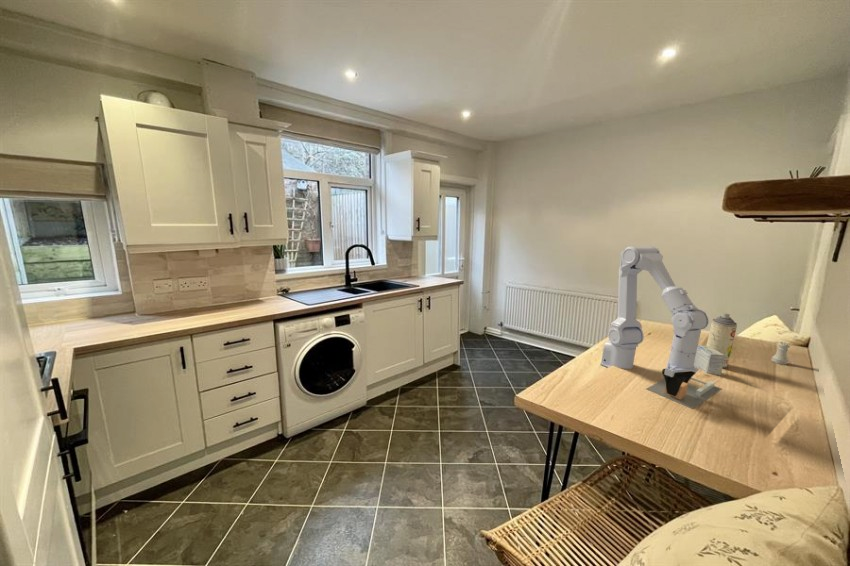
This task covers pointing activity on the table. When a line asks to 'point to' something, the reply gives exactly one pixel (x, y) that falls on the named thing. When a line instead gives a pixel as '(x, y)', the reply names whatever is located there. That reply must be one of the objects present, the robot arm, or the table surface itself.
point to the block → (680, 391)
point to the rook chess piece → (781, 354)
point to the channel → (688, 393)
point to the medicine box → (709, 360)
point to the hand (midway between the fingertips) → (674, 392)
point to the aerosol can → (722, 336)
